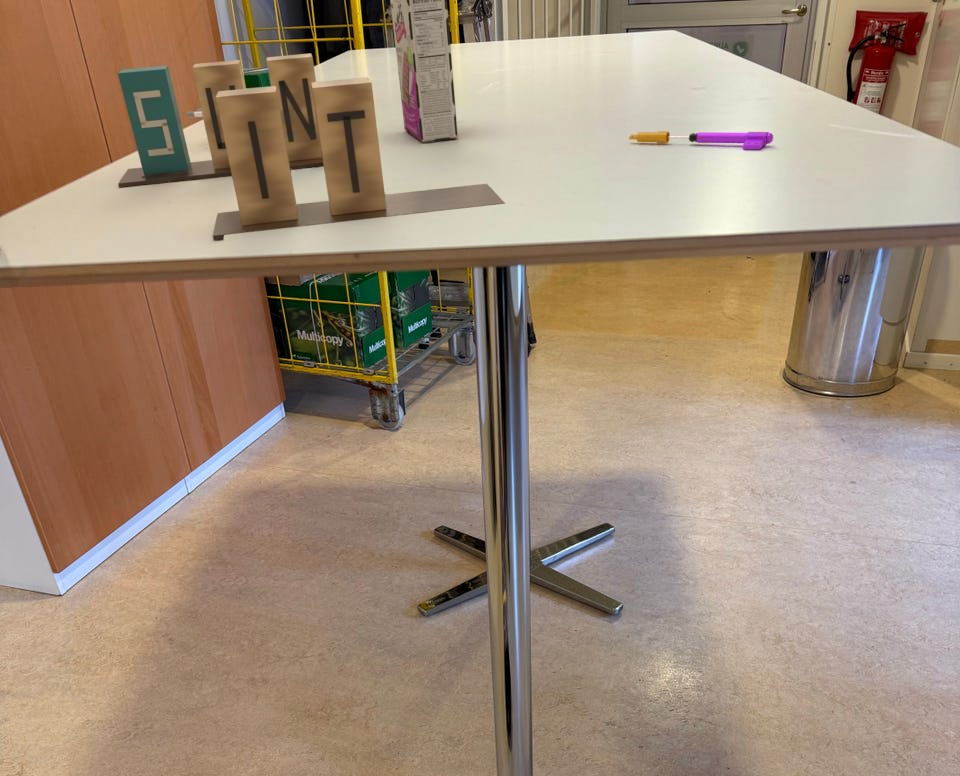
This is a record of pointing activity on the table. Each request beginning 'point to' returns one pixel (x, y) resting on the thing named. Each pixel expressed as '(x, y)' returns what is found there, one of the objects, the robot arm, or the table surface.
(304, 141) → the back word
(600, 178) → the table surface
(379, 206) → the front word
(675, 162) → the table surface
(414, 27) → the candy bar box
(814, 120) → the table surface
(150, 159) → the teal rectangular slab
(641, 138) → the marker pen
